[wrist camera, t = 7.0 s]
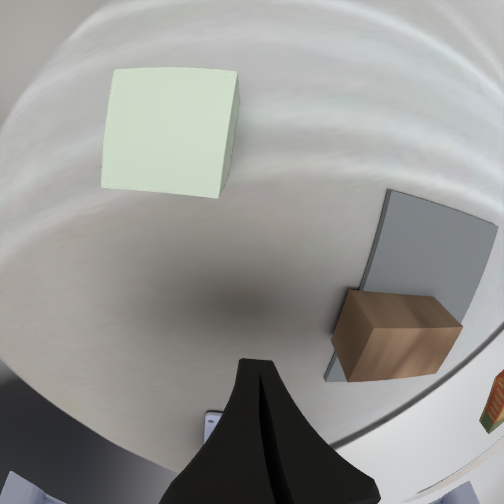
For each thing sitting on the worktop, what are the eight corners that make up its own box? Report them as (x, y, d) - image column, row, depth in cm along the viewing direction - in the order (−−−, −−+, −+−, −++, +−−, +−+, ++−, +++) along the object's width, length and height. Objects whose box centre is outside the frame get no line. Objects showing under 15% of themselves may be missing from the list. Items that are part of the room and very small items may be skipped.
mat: (429, 369, 20) (431, 373, 19) (323, 377, 19) (325, 381, 19) (494, 224, 15) (498, 226, 14) (387, 188, 14) (391, 190, 13)
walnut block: (330, 340, 17) (412, 340, 18) (347, 382, 13) (436, 373, 14) (349, 289, 16) (433, 296, 16) (373, 328, 12) (463, 326, 13)
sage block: (228, 175, 14) (218, 198, 8) (155, 168, 13) (101, 187, 8) (240, 101, 12) (237, 71, 7) (164, 96, 12) (114, 69, 6)
